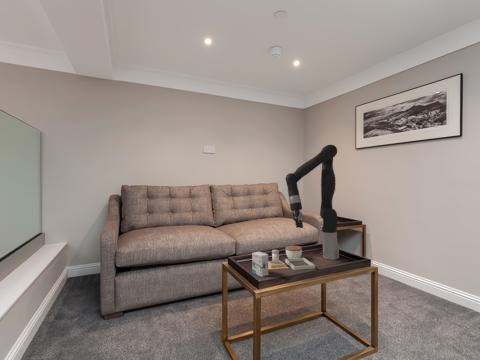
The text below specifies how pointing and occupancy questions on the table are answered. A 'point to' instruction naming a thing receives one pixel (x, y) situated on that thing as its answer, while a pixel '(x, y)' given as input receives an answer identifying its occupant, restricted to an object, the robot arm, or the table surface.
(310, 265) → the parts tray
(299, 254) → the lidded jar
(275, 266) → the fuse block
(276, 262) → the fuse
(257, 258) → the ink box
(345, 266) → the table surface
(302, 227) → the robot arm
